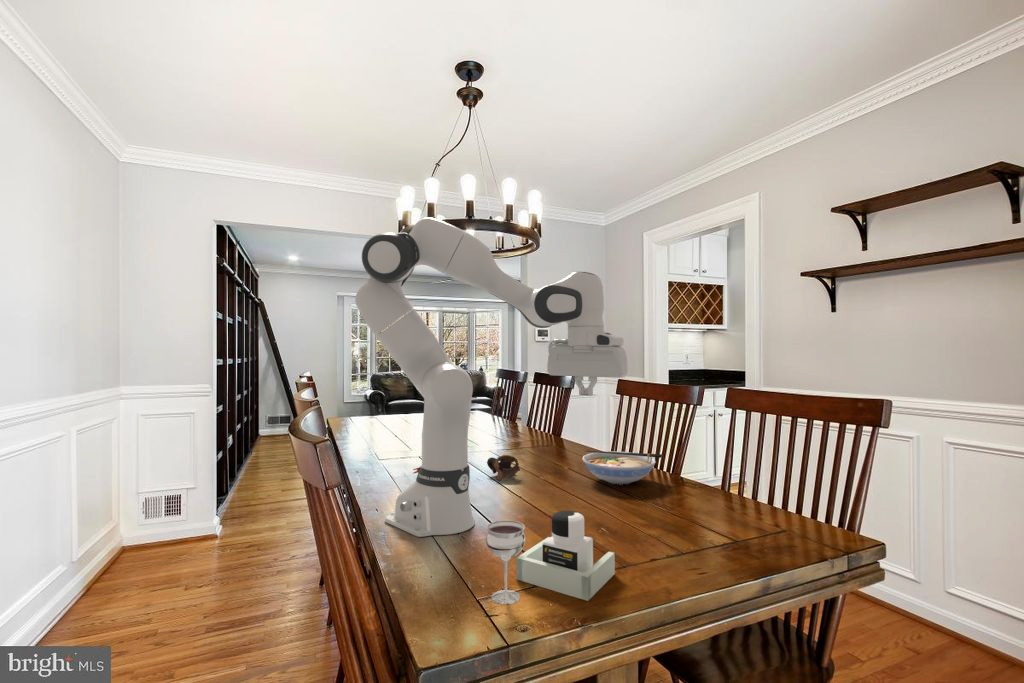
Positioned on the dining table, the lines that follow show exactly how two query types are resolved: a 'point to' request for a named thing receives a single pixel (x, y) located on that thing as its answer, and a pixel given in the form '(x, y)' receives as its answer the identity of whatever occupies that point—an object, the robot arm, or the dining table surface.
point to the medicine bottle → (568, 543)
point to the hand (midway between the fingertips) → (585, 395)
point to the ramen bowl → (619, 465)
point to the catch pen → (564, 574)
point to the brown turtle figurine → (503, 466)
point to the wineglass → (505, 551)
